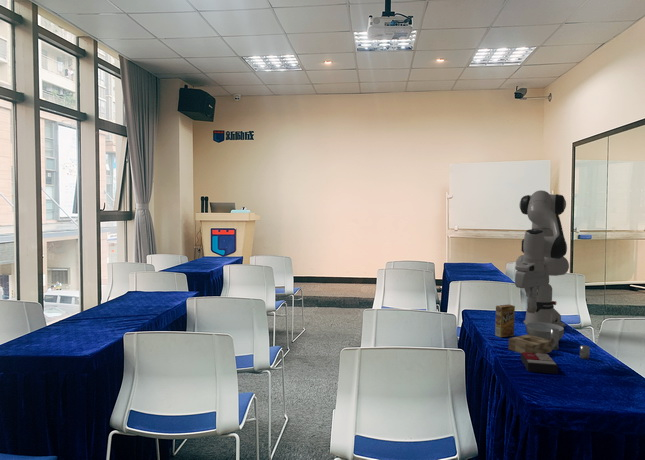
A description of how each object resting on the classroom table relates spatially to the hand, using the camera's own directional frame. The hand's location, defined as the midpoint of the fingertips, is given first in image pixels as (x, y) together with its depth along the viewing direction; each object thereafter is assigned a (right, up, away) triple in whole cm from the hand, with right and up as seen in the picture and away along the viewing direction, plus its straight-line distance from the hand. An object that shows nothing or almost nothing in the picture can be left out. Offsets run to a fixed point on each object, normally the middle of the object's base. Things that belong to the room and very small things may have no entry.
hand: (532, 296), depth 209 cm
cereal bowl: (+14, -24, +17) cm, 33 cm away
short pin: (+19, -26, -7) cm, 33 cm away
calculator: (-6, -27, -18) cm, 33 cm away
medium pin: (+12, -25, +4) cm, 28 cm away
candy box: (-3, -24, +25) cm, 34 cm away
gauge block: (0, -25, +2) cm, 25 cm away
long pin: (0, -7, 0) cm, 7 cm away
